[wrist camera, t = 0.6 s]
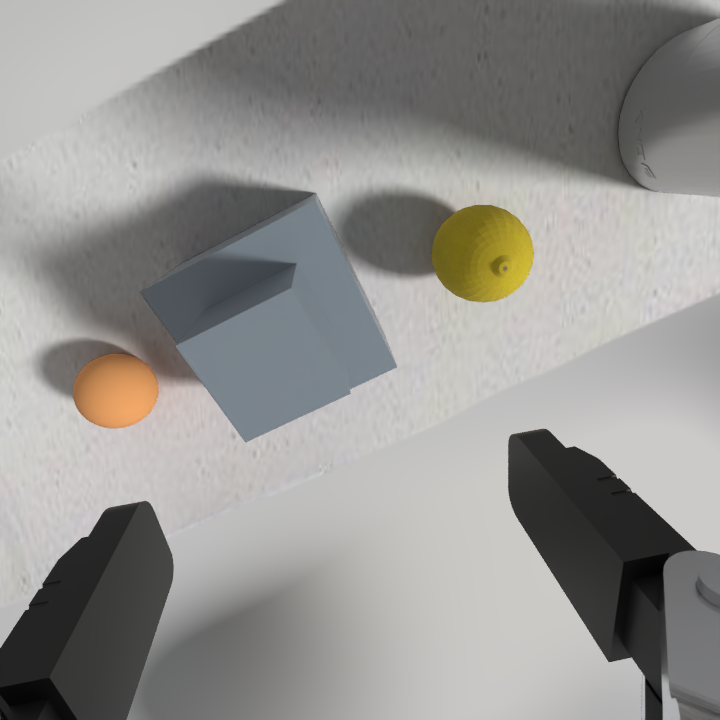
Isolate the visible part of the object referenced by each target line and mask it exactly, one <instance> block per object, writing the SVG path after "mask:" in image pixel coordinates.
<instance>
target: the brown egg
mask: <svg viewBox="0 0 720 720" xmlns="http://www.w3.org/2000/svg"><path fill="white" fill-rule="evenodd" d="M158 392H159V389H158V381H157V378H156V376H155V374H154V372H153V371H152V369H151V368H150V367H149V366H148V365H147V364H146V363H145V362H143V361H142V360H140V359H138V358H136V357H134V356H131V355H127V354H108V355H104V356H101V357H98V358H96V359H94V360H92V361H91V362H89V363H88V364H87V365H85V366H84V367H83V369H82V370H81V371H80V372H79V374H78V376H77V377H76V380H75V382H74V387H73V398H74V402H75V405H76V407H77V409H78V410H79V412H80V413H81V414H82V415H83V416H84V417H85V418H86V419H87V420H88V421H90V422H92V423H94V424H96V425H98V426H101V427H105V428H123V427H127V426H131V425H133V424H135V423H137V422H139V421H141V420H142V419H143V418H145V417H146V416H147V415H148V414H149V413H150V412H151V410H152V409H153V407H154V406H155V404H156V401H157V398H158Z"/></svg>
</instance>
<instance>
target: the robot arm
mask: <svg viewBox="0 0 720 720" xmlns="http://www.w3.org/2000/svg"><path fill="white" fill-rule="evenodd" d="M618 138H619V150H620V153H621V156H622V160H623V163H624V165H625V167H626V168H627V170H628V172H629V173H630V175H631V176H632V177H633V178H634V179H635V180H636V181H637V182H638V183H639V184H641V185H642V186H644V187H646V188H648V189H650V190H653V191H658V192H663V193H675V194H689V195H703V196H713V197H720V18H719V19H716V20H713V21H711V22H708V23H705V24H703V25H700V26H697V27H695V28H692V29H689V30H687V31H685V32H683V33H681V34H679V35H677V36H675V37H673V38H672V39H671V40H669V41H668V42H667V43H665V44H664V45H663V46H662V47H660V48H659V49H658V50H657V51H656V52H655V53H654V54H653V55H652V56H651V57H650V58H649V59H648V60H647V62H646V63H645V64H644V65H643V67H642V68H641V70H640V71H639V73H638V74H637V76H636V77H635V79H634V80H633V82H632V84H631V86H630V89H629V91H628V93H627V95H626V97H625V100H624V104H623V107H622V111H621V114H620V121H619V130H618ZM508 449H509V450H508V455H509V457H508V463H509V465H508V481H509V482H508V490H509V496H510V501H511V505H512V508H513V510H514V513H515V515H516V517H517V518H518V520H519V522H520V523H521V525H522V526H523V528H524V529H525V531H526V533H527V534H528V536H529V537H530V539H531V540H532V542H533V544H534V545H535V547H536V548H537V550H538V551H539V553H540V555H541V556H542V558H543V559H544V561H545V562H546V564H547V566H548V567H549V569H550V570H551V572H552V573H553V575H554V576H555V578H556V580H557V581H558V583H559V584H560V586H561V588H562V589H563V591H564V592H565V594H566V596H567V597H568V599H569V600H570V602H571V603H572V605H573V606H574V608H575V610H576V611H577V613H578V614H579V616H580V618H581V619H582V621H583V622H584V624H585V625H586V627H587V629H588V630H589V632H590V633H591V635H592V636H593V638H594V639H595V641H596V643H597V644H598V646H599V647H600V649H601V650H602V652H603V654H604V655H605V657H606V658H607V660H608V662H613V661H617V660H622V659H626V658H631V657H632V658H633V660H634V661H635V663H636V664H637V666H638V667H639V668H640V670H641V671H642V673H643V676H642V683H641V720H720V555H719V554H715V553H710V552H706V551H697V550H696V549H695V548H694V547H692V546H691V545H690V544H689V543H688V542H687V541H686V540H685V539H684V538H683V537H682V536H681V535H680V534H678V532H676V531H675V530H674V529H673V528H672V527H671V526H670V525H669V524H668V523H667V522H666V521H665V520H664V519H663V518H661V517H660V516H659V515H658V514H657V513H656V512H655V511H654V510H653V509H652V508H651V507H650V506H649V505H648V504H646V503H645V502H644V501H643V500H642V499H641V498H640V497H639V496H638V495H637V494H636V493H632V491H631V489H630V488H629V487H628V486H627V485H626V484H625V483H624V482H623V481H622V480H621V479H620V478H619V479H617V477H616V475H615V474H614V473H613V472H612V471H611V470H610V469H609V468H608V467H607V466H606V465H605V464H604V463H603V462H601V460H599V459H598V458H596V457H594V456H592V455H590V454H588V453H587V452H585V451H583V450H581V449H579V448H577V447H575V446H574V447H569V448H565V447H564V446H563V445H562V444H561V443H560V441H559V440H557V438H556V437H555V436H554V435H553V434H552V433H551V432H550V431H548V430H547V429H539V430H534V431H528V432H522V433H517V434H513V435H511V436H510V438H509V445H508ZM172 580H173V558H172V554H171V551H170V548H169V546H168V544H167V541H166V539H165V536H164V534H163V531H162V529H161V527H160V524H159V522H158V519H157V517H156V514H155V512H154V510H153V508H152V506H151V504H150V503H149V502H147V501H143V502H137V503H132V504H127V505H121V506H116V507H110V508H108V509H106V510H105V511H104V512H103V514H102V515H101V517H100V519H99V520H98V522H97V524H96V525H95V527H94V528H93V530H92V532H91V533H90V535H89V537H84V538H81V539H80V540H79V541H78V542H77V543H76V544H75V545H74V546H73V547H72V548H71V549H69V550H68V551H67V552H66V553H65V554H64V555H63V556H62V557H61V558H60V559H59V560H58V561H57V563H56V564H55V566H54V567H53V569H52V570H51V572H50V573H49V575H48V577H47V578H46V580H45V581H44V583H43V588H42V589H39V590H38V592H37V593H36V595H35V596H34V598H33V599H32V601H31V602H30V604H29V610H25V612H24V613H23V615H22V616H21V618H20V619H19V621H18V622H17V624H16V625H15V627H14V628H13V630H12V631H11V633H10V634H9V636H8V638H7V639H6V641H5V642H4V644H3V645H2V647H1V648H0V720H126V719H127V716H128V713H129V710H130V707H131V704H132V701H133V698H134V695H135V692H136V689H137V686H138V683H139V680H140V677H141V674H142V671H143V668H144V665H145V662H146V659H147V656H148V653H149V650H150V647H151V644H152V641H153V638H154V635H155V632H156V629H157V626H158V623H159V620H160V617H161V614H162V611H163V608H164V605H165V602H166V599H167V596H168V593H169V590H170V587H171V584H172Z"/></svg>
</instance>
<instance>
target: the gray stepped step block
mask: <svg viewBox="0 0 720 720" xmlns="http://www.w3.org/2000/svg"><path fill="white" fill-rule="evenodd" d="M140 293H141V295H142V296H143V297H144V299H145V300H146V302H147V303H148V304H149V306H150V307H151V308H152V310H153V311H154V313H155V314H156V315H157V317H158V318H159V319H160V321H161V322H162V324H163V325H164V326H165V328H166V329H167V330H168V332H169V333H170V335H171V336H172V337H173V339H174V340H175V341H176V343H177V344H176V346H175V347H176V348H177V349H178V351H179V352H180V354H181V355H182V356H183V358H184V359H185V360H186V362H187V363H188V364H189V366H190V367H191V369H192V370H193V371H194V373H195V374H196V375H197V377H198V378H199V379H200V381H201V382H202V384H203V385H204V386H205V388H206V389H207V390H208V392H209V393H210V395H211V396H212V397H213V399H214V400H215V401H216V403H217V404H218V405H219V407H220V408H221V410H222V411H223V412H224V414H225V415H226V416H227V418H228V419H229V421H230V422H231V423H232V425H233V426H234V427H235V429H236V430H237V431H238V433H239V434H240V436H241V437H242V438H243V440H244V441H245V442H247V441H250V440H252V439H254V438H256V437H258V436H260V435H263V434H265V433H267V432H269V431H271V430H273V429H275V428H278V427H280V426H282V425H284V424H286V423H288V422H290V421H293V420H295V419H297V418H299V417H301V416H303V415H306V414H308V413H310V412H312V411H314V410H316V409H318V408H321V407H323V406H325V405H327V404H329V403H331V402H334V401H336V400H338V399H340V398H342V397H344V396H346V395H349V394H351V393H350V389H351V388H353V387H356V386H358V385H360V384H362V383H364V382H366V381H368V380H371V379H373V378H375V377H377V376H379V375H381V374H383V373H386V372H388V371H390V370H392V369H394V368H396V367H397V365H396V363H395V360H394V358H393V355H392V353H391V350H390V347H389V345H388V342H387V340H386V337H385V335H384V332H383V330H382V327H381V325H380V323H379V321H378V319H377V317H376V315H375V313H374V311H373V309H372V307H371V305H370V303H369V301H368V299H367V296H366V294H365V292H364V290H363V288H362V286H361V284H360V282H359V280H358V278H357V276H356V274H355V272H354V270H353V268H352V266H351V264H350V262H349V259H348V257H347V255H346V253H345V251H344V249H343V247H342V245H341V243H340V241H339V239H338V237H337V235H336V233H335V231H334V229H333V227H332V225H331V222H330V220H329V218H328V216H327V214H326V212H325V210H324V208H323V206H322V204H321V202H320V200H319V198H318V196H317V194H316V193H315V194H313V195H311V196H310V197H308V198H306V199H304V200H302V201H300V202H298V203H296V204H294V205H292V206H290V207H289V208H287V209H285V210H283V211H281V212H279V213H277V214H275V215H273V216H271V217H269V218H268V219H266V220H264V221H262V222H260V223H258V224H256V225H254V226H252V227H250V228H248V229H247V230H245V231H243V232H241V233H239V234H237V235H235V236H233V237H231V238H229V239H227V240H226V241H224V242H222V243H220V244H218V245H216V246H214V247H212V248H210V249H208V250H206V251H205V252H203V253H201V254H199V255H197V256H195V257H193V258H191V259H189V260H187V261H185V262H183V263H182V264H180V265H178V266H177V267H175V268H174V269H172V270H171V271H169V272H168V273H166V274H165V275H164V276H162V277H161V278H159V279H158V280H156V281H155V282H153V283H152V284H151V285H149V286H148V287H146V288H145V289H143V290H142V291H140Z"/></svg>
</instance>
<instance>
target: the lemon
mask: <svg viewBox="0 0 720 720" xmlns="http://www.w3.org/2000/svg"><path fill="white" fill-rule="evenodd" d="M533 256H534V251H533V244H532V240H531V237H530V235H529V233H528V231H527V229H526V228H525V226H524V225H523V224H522V223H521V221H520V220H519V219H518V218H517V217H515V216H514V215H512V214H511V213H509V212H508V211H506V210H505V209H502V208H498V207H495V206H492V205H474V206H471V207H467V208H463V209H461V210H459V211H458V212H456V213H454V214H452V215H451V216H450V217H449V218H448V219H447V220H446V221H445V222H444V223H443V224H442V225H441V227H440V228H439V230H438V231H437V233H436V236H435V239H434V241H433V247H432V263H433V267H434V270H435V272H436V275H437V277H438V278H439V280H440V281H441V282H442V284H443V285H444V286H445V287H446V288H447V289H448V290H449V291H451V292H452V293H453V294H455V295H456V296H458V297H461V298H463V299H466V300H469V301H476V302H491V301H496V300H499V299H502V298H504V297H507V296H508V295H510V294H511V293H513V292H514V291H516V290H517V289H518V288H519V287H520V286H521V285H522V284H523V282H524V281H525V279H526V278H527V276H528V275H529V272H530V269H531V267H532V264H533Z"/></svg>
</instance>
